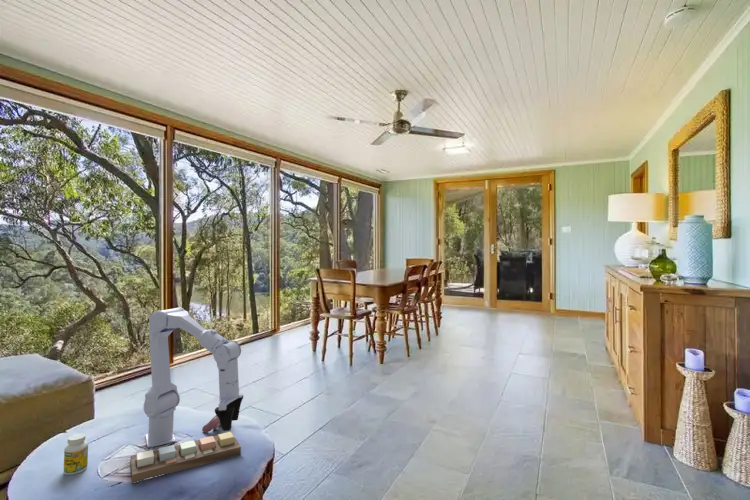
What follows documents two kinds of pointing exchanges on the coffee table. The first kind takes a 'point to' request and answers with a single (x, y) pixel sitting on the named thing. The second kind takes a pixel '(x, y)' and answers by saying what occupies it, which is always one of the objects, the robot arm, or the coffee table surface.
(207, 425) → the video game controller
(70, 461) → the supplement bottle
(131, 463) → the keypad
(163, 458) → the bluegrey key
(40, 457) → the coffee table surface
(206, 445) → the terracotta key
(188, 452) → the sage key
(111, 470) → the coffee table surface
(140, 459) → the offwhite key
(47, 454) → the coffee table surface
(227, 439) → the ochre key
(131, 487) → the coffee table surface
